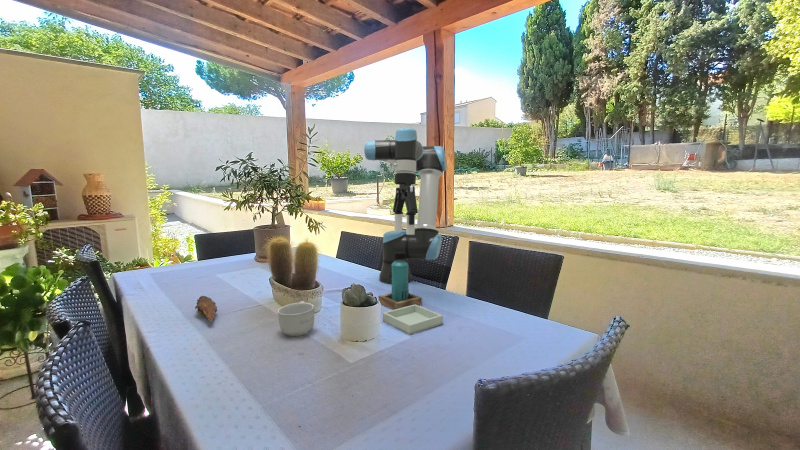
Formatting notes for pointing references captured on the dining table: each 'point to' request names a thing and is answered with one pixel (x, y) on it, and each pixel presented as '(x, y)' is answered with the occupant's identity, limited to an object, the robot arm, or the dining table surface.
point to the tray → (412, 319)
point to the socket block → (393, 305)
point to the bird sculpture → (206, 307)
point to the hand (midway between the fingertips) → (404, 233)
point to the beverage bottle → (400, 278)
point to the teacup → (296, 318)
